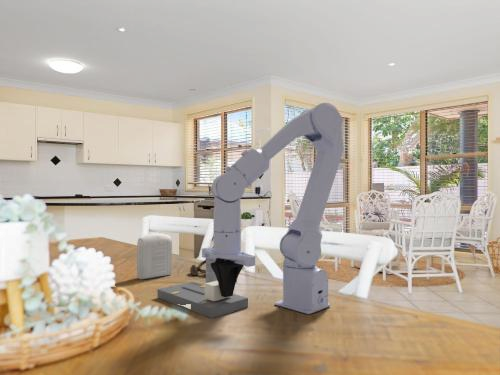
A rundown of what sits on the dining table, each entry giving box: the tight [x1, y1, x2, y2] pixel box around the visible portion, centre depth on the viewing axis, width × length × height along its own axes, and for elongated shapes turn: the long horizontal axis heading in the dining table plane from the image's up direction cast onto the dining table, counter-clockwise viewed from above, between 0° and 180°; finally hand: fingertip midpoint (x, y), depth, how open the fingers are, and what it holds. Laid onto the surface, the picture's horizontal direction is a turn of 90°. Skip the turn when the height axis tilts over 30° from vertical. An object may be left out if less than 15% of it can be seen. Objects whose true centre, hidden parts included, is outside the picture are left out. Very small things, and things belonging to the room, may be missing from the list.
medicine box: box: [205, 257, 238, 283], centre depth 106 cm, size 8×4×9 cm, turn 143°
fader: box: [204, 281, 232, 301], centre depth 85 cm, size 3×5×3 cm, turn 135°
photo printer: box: [136, 232, 173, 280], centre depth 114 cm, size 10×4×12 cm, turn 134°
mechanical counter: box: [189, 259, 206, 276], centre depth 118 cm, size 7×13×10 cm
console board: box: [156, 281, 249, 319], centre depth 89 cm, size 20×10×2 cm, turn 45°
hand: (227, 295), depth 83 cm, fingers closed
